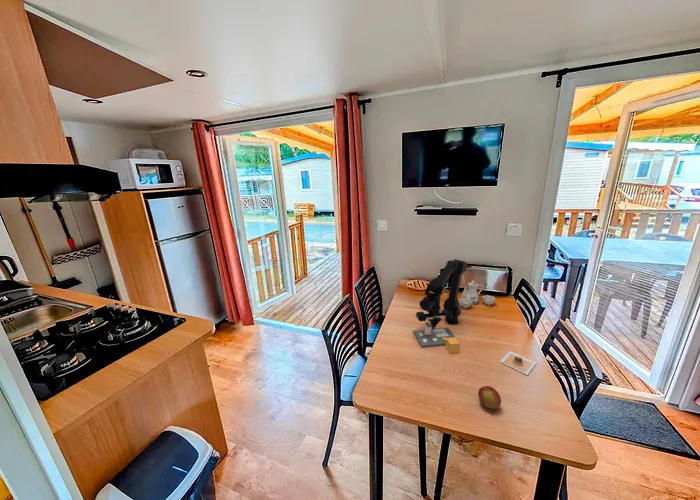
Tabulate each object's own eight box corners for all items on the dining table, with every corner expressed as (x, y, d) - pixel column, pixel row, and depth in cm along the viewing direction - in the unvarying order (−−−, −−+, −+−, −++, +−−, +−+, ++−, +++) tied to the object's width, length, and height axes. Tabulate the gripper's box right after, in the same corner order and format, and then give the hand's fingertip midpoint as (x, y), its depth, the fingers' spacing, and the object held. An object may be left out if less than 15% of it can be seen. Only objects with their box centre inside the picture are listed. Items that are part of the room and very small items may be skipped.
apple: (492, 396, 111) (494, 380, 108) (503, 413, 103) (506, 397, 101) (474, 397, 111) (476, 381, 108) (484, 414, 103) (486, 398, 101)
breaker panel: (447, 329, 157) (448, 325, 156) (459, 344, 144) (459, 340, 143) (413, 332, 155) (413, 328, 155) (421, 347, 142) (421, 343, 141)
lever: (428, 330, 153) (429, 322, 151) (431, 335, 149) (432, 326, 147) (423, 331, 153) (424, 322, 151) (426, 335, 149) (426, 326, 147)
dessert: (527, 377, 121) (528, 368, 120) (499, 363, 130) (500, 355, 128) (536, 364, 128) (538, 356, 127) (509, 352, 137) (510, 344, 136)
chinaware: (463, 314, 175) (467, 292, 169) (448, 300, 190) (451, 280, 184) (498, 307, 182) (503, 286, 176) (481, 295, 197) (485, 275, 191)
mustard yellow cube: (454, 346, 142) (455, 337, 140) (458, 353, 137) (459, 343, 135) (445, 347, 142) (446, 338, 140) (449, 353, 137) (450, 344, 135)
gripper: (444, 295, 154) (442, 319, 159) (413, 298, 153) (412, 322, 157) (453, 305, 144) (451, 330, 148) (419, 307, 142) (418, 333, 147)
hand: (432, 328), depth 150 cm, fingers closed
